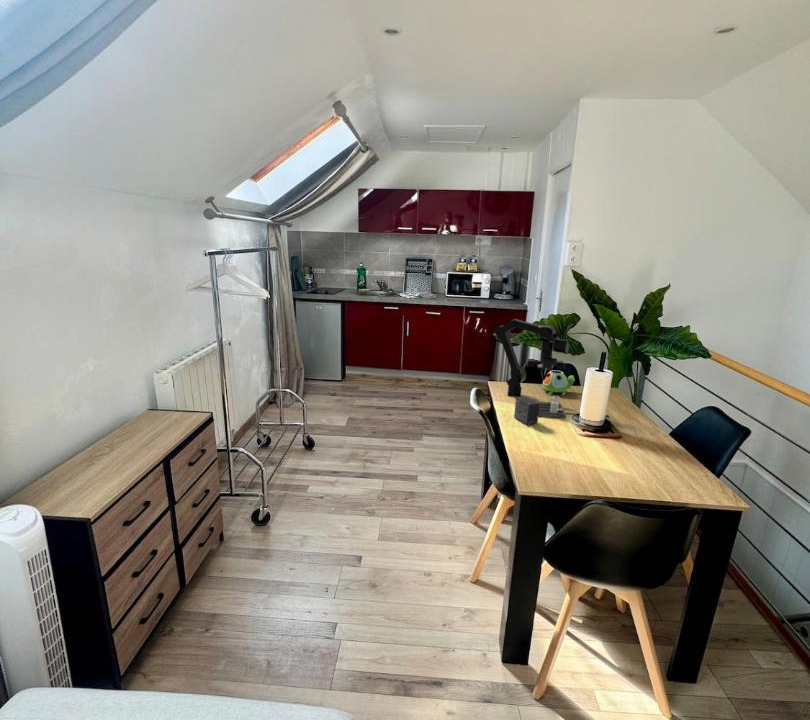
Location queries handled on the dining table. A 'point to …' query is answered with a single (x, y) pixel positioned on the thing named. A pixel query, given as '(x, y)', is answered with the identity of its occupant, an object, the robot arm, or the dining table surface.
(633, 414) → the dining table surface
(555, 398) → the fader
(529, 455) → the dining table surface
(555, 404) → the fader
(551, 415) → the console
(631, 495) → the dining table surface
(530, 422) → the small box
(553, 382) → the turtle holder
